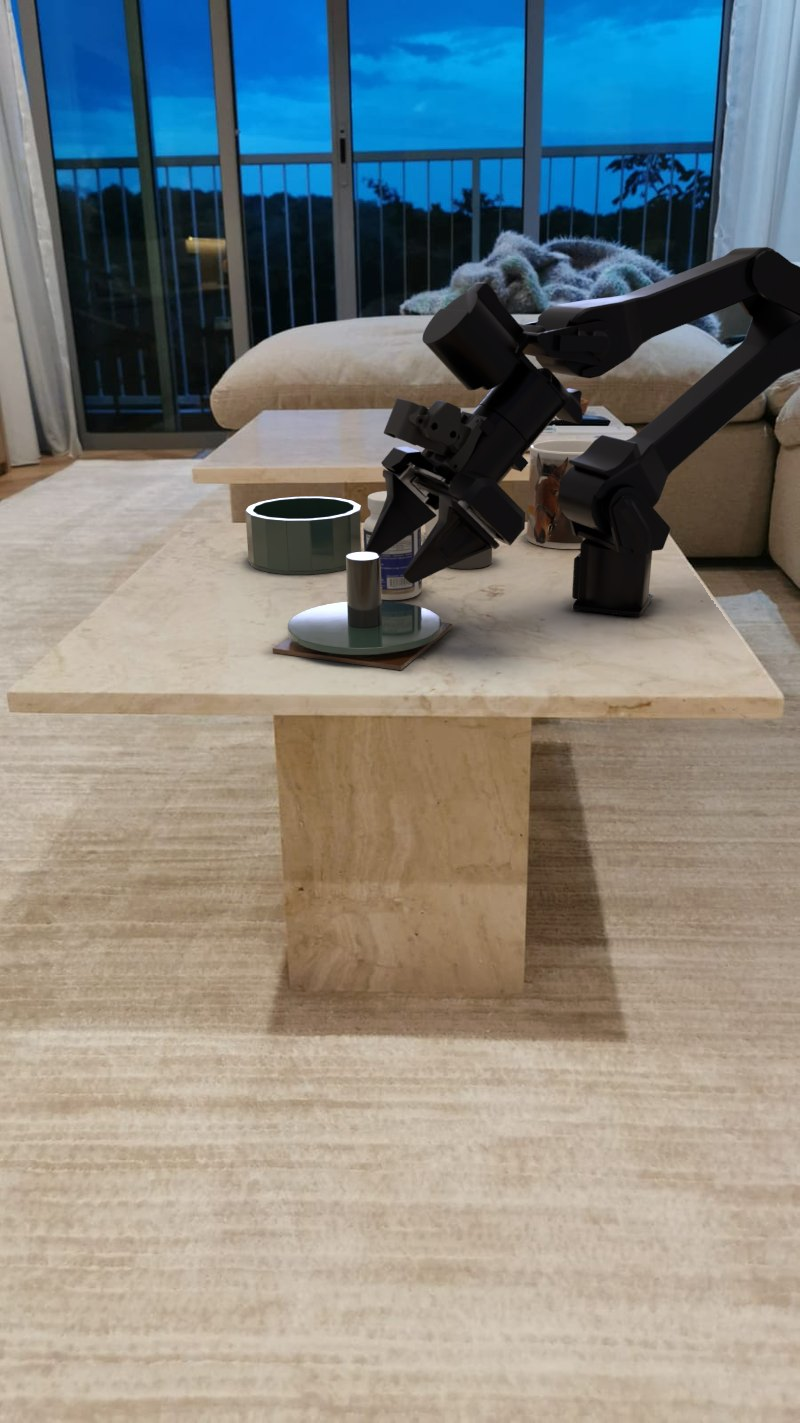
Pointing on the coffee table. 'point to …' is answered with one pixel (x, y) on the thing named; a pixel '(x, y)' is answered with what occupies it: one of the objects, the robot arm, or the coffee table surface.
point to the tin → (303, 534)
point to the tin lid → (364, 617)
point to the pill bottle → (393, 555)
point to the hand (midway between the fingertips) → (387, 566)
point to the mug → (551, 493)
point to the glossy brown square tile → (377, 660)
